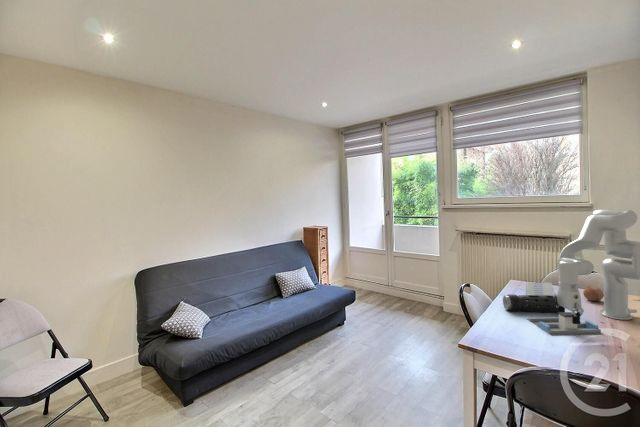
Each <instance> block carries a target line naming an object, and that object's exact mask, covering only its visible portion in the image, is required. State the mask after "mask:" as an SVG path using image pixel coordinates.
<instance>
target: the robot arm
mask: <svg viewBox="0 0 640 427" xmlns="http://www.w3.org/2000/svg"><path fill="white" fill-rule="evenodd" d="M637 222H638V214H637V213H636V212H635V211H634V210H630V209H610V208H609V209H608V208H607V209H606V208H604V209H603V208H602V209H597V210H594V211H593V212H592V214H591V215H589V216H587V217H586V218H585V221H584V223H583V225H582V228H581V230H580V233H579V235H578V237H577V239H575V240H574V241H570V243H568V244H566V245H565V246H564V247H563V248H562V249H561V251H560V253H559V254H558V255H559V256H558V257H557V260H556V261H557V262H556V267H557V268H558V269H557V270H558V288H557V295H556V296H557V297H555V301H556V304H557V306H556V307H557V308H558V312H557V317H559V312H566V310H568V311H569V312H572V313H573V315H574V316H572V323H573V324H580V322H581V317H582V315H583V313H584V311H585V310H584V308H583V307H582V298H581V292H580V290H579V276H588V275H590V274H591V273H592V272H594V270H595V269H594V264H593V263H592V262H591V261H589V260H587V259H581V258H577V257H576V258H575V257H572V256H573V255H574V254H575V253H578V252H581V251H584V250H588V249H593V248H596V247H598V246H599V245H600V243H601V241H602V238H603V237H604V242H603V243H604V251H605V254H606V255H607V256H610V257H609V258H606V259H604V260H603V261H602V262H601V270H602V274H603V294H604V297H603V309H601V310H599V314H600V315H602V316H603V317H606V318H609V319H613V320H621V321H622V320H623V321H630V320H632V319H633V315H631V314H636V313H638V310H637V309H635V308H632V309H631V308H630V307H629V284H628V282H627V280H626V279H628V280H629V279H630V280H635V281H640V241H638V240H630V239H629V240H628V238H627V232H626V230H628V229H630V228H631V227H633V226H635V225H636V223H637ZM603 235H604V236H603ZM611 257H614V258H611ZM615 257H616V258H615ZM619 258H620V259H619ZM621 258H622V259H621ZM626 259H627V260H626ZM629 259H630V260H629ZM563 307H564V308H563Z"/></svg>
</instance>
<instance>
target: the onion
mask: <svg viewBox="0 0 640 427" xmlns="http://www.w3.org/2000/svg"><path fill="white" fill-rule="evenodd" d="M582 294H583V296H584V298H585V299H586V300H587V301H590V302H593V301H594V302H595V303H598V302H600V301H601V300H603V299H604V291H602V289H600V288H598V287H594V286H592V285H588V286H587V287H586V288H585V289H584V290H583V293H582Z"/></svg>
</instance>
